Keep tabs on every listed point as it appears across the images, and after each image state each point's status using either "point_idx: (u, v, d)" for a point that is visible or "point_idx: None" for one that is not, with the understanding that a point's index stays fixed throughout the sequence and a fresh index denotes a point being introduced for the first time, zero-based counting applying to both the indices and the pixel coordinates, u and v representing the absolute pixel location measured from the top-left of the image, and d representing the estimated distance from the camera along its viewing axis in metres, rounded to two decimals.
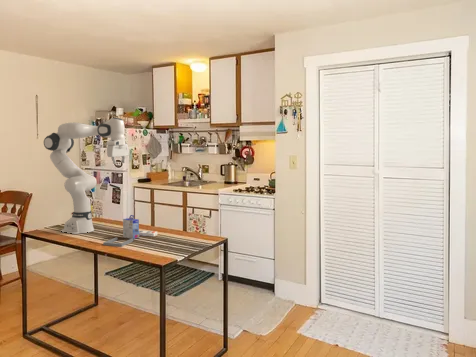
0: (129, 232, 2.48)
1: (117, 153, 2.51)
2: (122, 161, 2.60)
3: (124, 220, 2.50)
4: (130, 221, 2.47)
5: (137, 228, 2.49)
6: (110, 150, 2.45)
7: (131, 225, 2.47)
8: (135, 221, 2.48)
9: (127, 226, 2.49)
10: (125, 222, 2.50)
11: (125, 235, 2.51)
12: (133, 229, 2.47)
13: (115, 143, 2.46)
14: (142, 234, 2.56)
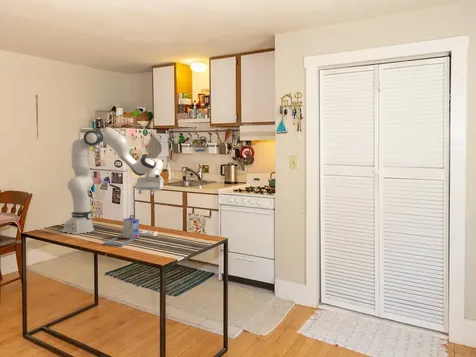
0: (129, 232, 2.48)
1: None
2: (141, 192, 2.69)
3: (124, 220, 2.50)
4: (130, 221, 2.47)
5: (137, 228, 2.49)
6: (162, 184, 2.70)
7: (131, 225, 2.47)
8: (135, 221, 2.48)
9: (127, 226, 2.49)
10: (125, 222, 2.50)
11: (125, 235, 2.51)
12: (133, 229, 2.47)
13: None
14: (142, 234, 2.56)
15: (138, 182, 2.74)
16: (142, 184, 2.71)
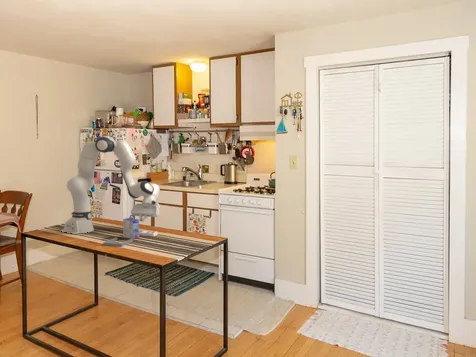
0: (129, 232, 2.48)
1: None
2: None
3: (124, 220, 2.50)
4: (130, 221, 2.47)
5: (137, 228, 2.49)
6: (158, 211, 2.66)
7: (131, 225, 2.47)
8: (135, 221, 2.48)
9: (127, 226, 2.49)
10: (125, 222, 2.50)
11: (125, 235, 2.51)
12: (133, 229, 2.47)
13: None
14: (142, 234, 2.56)
15: (134, 208, 2.69)
16: (138, 210, 2.67)
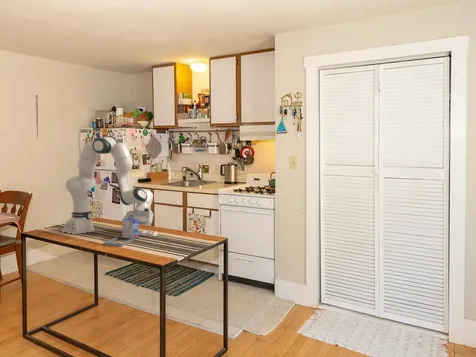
0: (129, 232, 2.48)
1: None
2: None
3: (123, 220, 2.50)
4: (130, 221, 2.47)
5: (137, 228, 2.49)
6: (151, 218, 2.57)
7: (131, 225, 2.46)
8: (135, 221, 2.47)
9: (126, 226, 2.49)
10: (124, 222, 2.50)
11: (124, 235, 2.50)
12: (133, 229, 2.47)
13: None
14: (142, 234, 2.56)
15: (126, 216, 2.60)
16: None
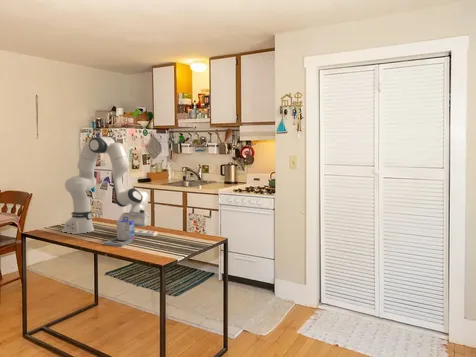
0: (125, 234, 2.43)
1: None
2: None
3: (118, 222, 2.43)
4: (126, 223, 2.41)
5: (133, 229, 2.45)
6: (147, 220, 2.52)
7: (127, 227, 2.41)
8: (131, 222, 2.43)
9: (122, 228, 2.43)
10: (119, 224, 2.43)
11: (120, 238, 2.44)
12: (130, 231, 2.42)
13: None
14: (142, 234, 2.56)
15: (121, 217, 2.55)
16: None
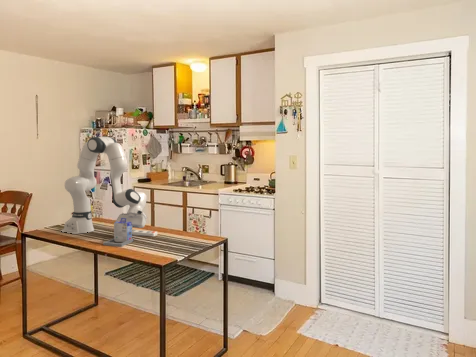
0: (123, 235, 2.40)
1: None
2: None
3: (116, 223, 2.40)
4: (124, 224, 2.39)
5: (130, 231, 2.42)
6: (144, 221, 2.49)
7: (125, 228, 2.39)
8: (129, 224, 2.40)
9: (119, 229, 2.40)
10: (116, 225, 2.40)
11: (117, 239, 2.41)
12: (127, 232, 2.39)
13: None
14: (142, 234, 2.56)
15: (119, 218, 2.52)
16: None
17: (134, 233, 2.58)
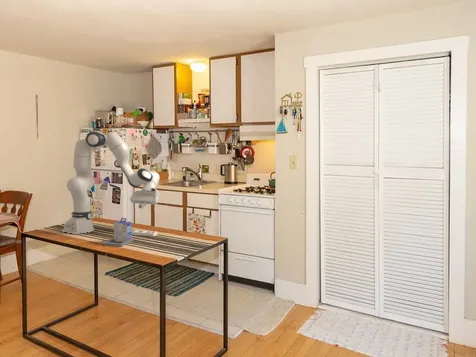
0: (123, 235, 2.40)
1: None
2: None
3: (116, 223, 2.40)
4: (124, 224, 2.39)
5: (130, 231, 2.42)
6: (158, 198, 2.65)
7: (125, 228, 2.39)
8: (129, 224, 2.40)
9: (119, 229, 2.40)
10: (116, 225, 2.40)
11: (117, 239, 2.41)
12: (127, 232, 2.39)
13: None
14: (142, 234, 2.56)
15: (133, 195, 2.68)
16: (137, 197, 2.66)
17: (134, 233, 2.58)
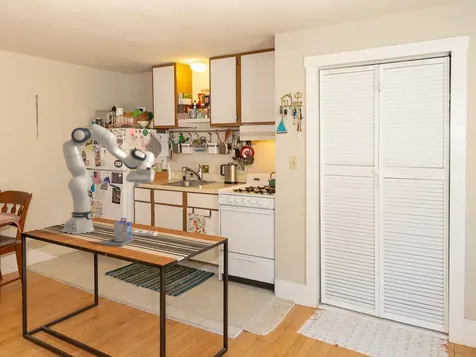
0: (123, 235, 2.40)
1: None
2: None
3: (116, 223, 2.40)
4: (124, 224, 2.39)
5: (130, 231, 2.42)
6: (153, 177, 2.70)
7: (125, 228, 2.39)
8: (129, 224, 2.40)
9: (119, 229, 2.40)
10: (116, 225, 2.40)
11: (117, 239, 2.41)
12: (127, 232, 2.39)
13: None
14: (142, 234, 2.56)
15: (129, 174, 2.73)
16: (133, 176, 2.71)
17: (134, 233, 2.58)
